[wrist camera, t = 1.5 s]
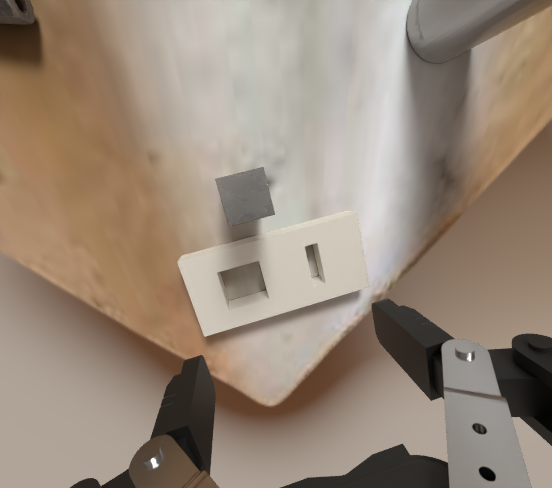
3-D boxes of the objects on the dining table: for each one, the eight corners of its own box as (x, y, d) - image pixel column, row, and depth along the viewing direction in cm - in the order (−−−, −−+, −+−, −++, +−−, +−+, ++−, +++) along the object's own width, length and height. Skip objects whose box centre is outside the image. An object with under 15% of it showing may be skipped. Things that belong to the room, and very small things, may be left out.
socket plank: (348, 210, 39) (357, 213, 36) (359, 279, 42) (369, 287, 39) (181, 255, 37) (177, 262, 34) (206, 325, 40) (204, 336, 37)
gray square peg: (251, 170, 35) (263, 167, 22) (259, 200, 37) (275, 214, 23) (221, 178, 35) (215, 178, 22) (230, 208, 36) (229, 226, 23)
